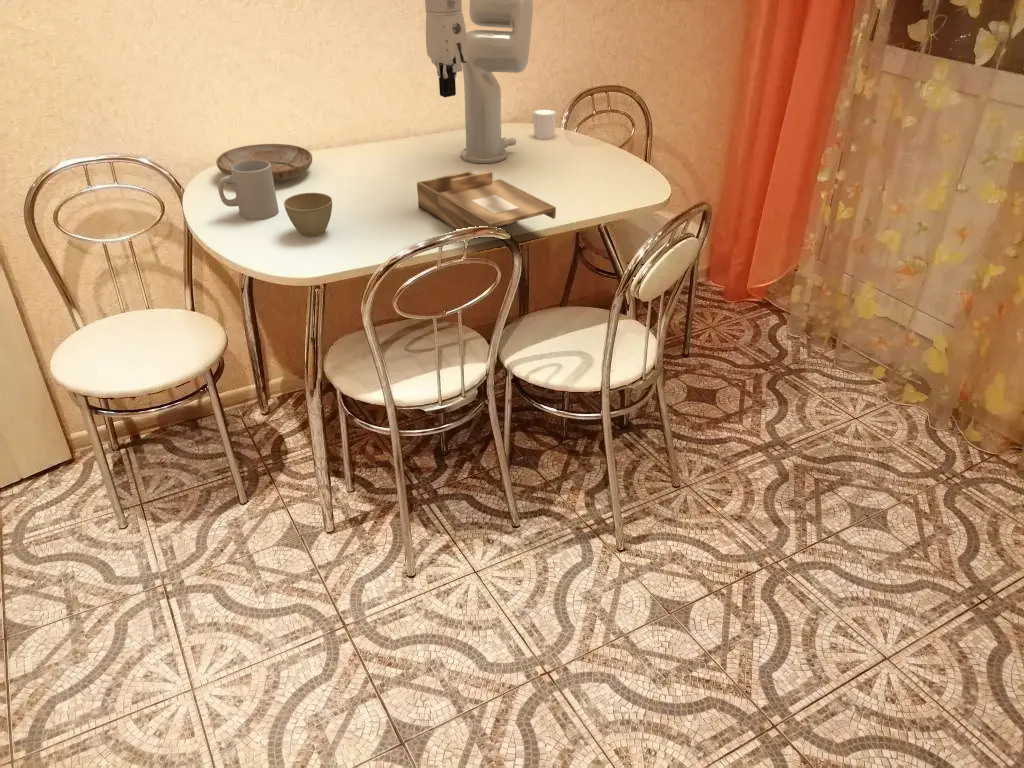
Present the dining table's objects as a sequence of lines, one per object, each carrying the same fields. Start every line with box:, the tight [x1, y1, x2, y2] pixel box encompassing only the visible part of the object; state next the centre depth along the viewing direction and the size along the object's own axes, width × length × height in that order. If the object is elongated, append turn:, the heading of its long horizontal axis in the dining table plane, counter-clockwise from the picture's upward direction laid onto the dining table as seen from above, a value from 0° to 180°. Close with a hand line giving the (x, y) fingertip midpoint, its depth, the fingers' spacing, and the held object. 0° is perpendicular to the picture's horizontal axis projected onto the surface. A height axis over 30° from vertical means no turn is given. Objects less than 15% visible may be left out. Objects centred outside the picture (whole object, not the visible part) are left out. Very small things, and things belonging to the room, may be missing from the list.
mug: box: [217, 160, 279, 221], centre depth 172 cm, size 12×8×11 cm
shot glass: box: [532, 108, 558, 140], centre depth 224 cm, size 7×7×7 cm
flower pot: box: [283, 192, 333, 238], centre depth 165 cm, size 10×10×7 cm
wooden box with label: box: [438, 170, 557, 228], centre depth 163 cm, size 16×21×5 cm
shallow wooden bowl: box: [215, 143, 313, 184], centre depth 196 cm, size 23×24×5 cm
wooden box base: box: [416, 170, 519, 231], centre depth 174 cm, size 14×20×6 cm
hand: (447, 95), depth 170 cm, fingers closed
